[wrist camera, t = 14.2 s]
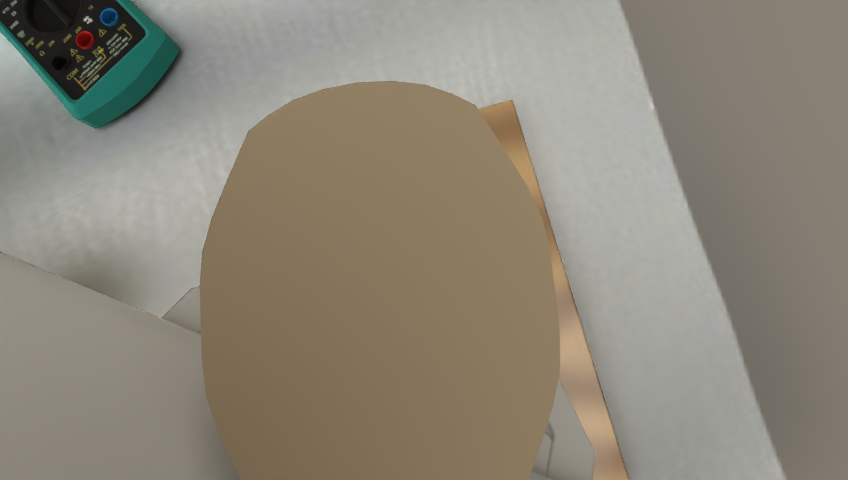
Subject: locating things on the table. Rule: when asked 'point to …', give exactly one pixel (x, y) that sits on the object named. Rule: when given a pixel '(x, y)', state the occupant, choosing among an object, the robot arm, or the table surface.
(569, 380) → the board
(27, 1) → the digital multimeter
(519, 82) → the table surface
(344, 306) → the handle
